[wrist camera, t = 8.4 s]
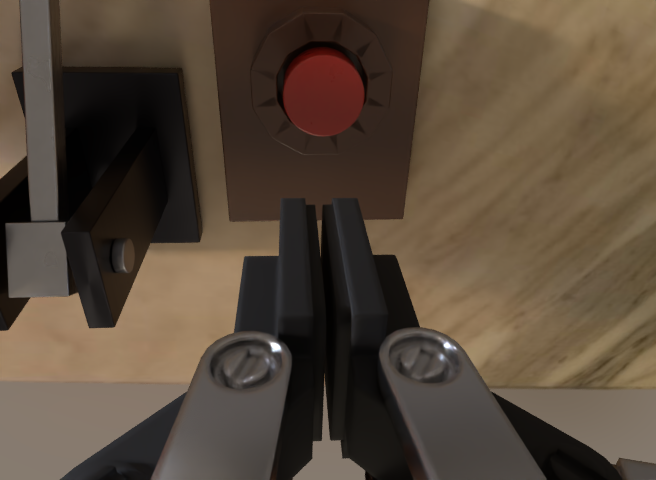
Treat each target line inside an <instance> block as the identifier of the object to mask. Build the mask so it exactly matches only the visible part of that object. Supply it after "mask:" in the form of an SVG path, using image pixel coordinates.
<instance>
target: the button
mask: <svg viewBox="0 0 656 480" xmlns="http://www.w3.org/2000/svg"><path fill="white" fill-rule="evenodd" d="M364 98H365V92H364V86H363V82H362V80H361V77H360V75H359V73H358V71H357V69H356V67H355V65H354V64H353V62H352V61H351V60H350V59H349V58H348V57H347V56H346V55H345V54H343V53H342V52H340V51H338V50H335V49H333V48H328V47H316V48H311V49H308V50H306V51H304V52H302V53H301V54H299V55H298V56H297V57H296V58H294V60H293V61H292V62H291V63H290V65H289V66H288V68H287V70H286V72H285V75H284V80H283V104H284V108H285V111H286V113H287V115H288V117H289V119H290V120H291V121H292V123H293V124H294V125H295V126H296V127H298V128H299V129H300V130H302V131H303V132H306V133H308V134H311V135H314V136H322V137H324V136H332V135H336V134H338V133H341V132H343V131H344V130H346V129H347V128H349V127H350V126H351V125H352V124H353V123H354V122H355V121H356V119H357V118H358V116H359V115H360V113H361V110H362V108H363V104H364Z"/></svg>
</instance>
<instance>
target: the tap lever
mask: <svg viewBox="0 0 656 480" xmlns="http://www.w3.org/2000/svg"><path fill="white" fill-rule="evenodd" d="M19 3H20V23H21V43H22V64H23V84H24V104H25V124H26V144H27V165H28V185H29V205H30V220H31V222H15V223H5V240H6V259H7V278H8V297H9V298H25V297H65V296H70V295H73V294H76V293H78V290H77V286H76V283H75V280H74V276H73V273H72V270H71V266H70V263H69V260H68V256H67V253H66V250H65V246H64V243H63V240H62V236H61V231H62V230H63V228H64V227H65V226H66V224H67V223H68V220H69V206H68V184H67V161H66V139H65V116H64V94H63V72H62V49H61V27H60V5H59V0H19Z"/></svg>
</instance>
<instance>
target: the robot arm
mask: <svg viewBox="0 0 656 480" xmlns="http://www.w3.org/2000/svg"><path fill="white" fill-rule="evenodd" d="M324 373H325V385H326V397H327V409H328V420H329V432H330V440H341V448H342V458H350V459H351V460H352V461H354V462H355V463H357V464H358V465H359V466H360V467H362V468H363V469H364V470H365V478H366V480H656V464H654V463H648V462H642V461H635V460H629V459H623V458H619V459H618V461H617V463H616V465H614V464H610V462H608V460H607V459H606V458H604V457H603V456H602V455H600V454H599V453H597V452H596V451H594V450H593V449H592V448H590V447H589V446H587V445H585V444H583V443H582V442H580V441H578V440H576V439H574V438H573V437H571V436H569V435H567V434H566V433H564V432H562V431H560V430H559V429H557V428H555V427H553V426H551V425H550V424H548V423H546V422H544V421H543V420H541V419H539V418H537V417H535V416H534V415H532V414H530V413H528V412H527V411H525V410H523V409H521V408H520V407H518V406H516V405H514V404H512V403H510V402H509V401H507V400H505V399H504V398H502V397H500V396H498V395H496V394H495V393H493V392H491V391H490V390H489V388H488V386H487V385H486V383H485V382H484V380H483V379H482V377H481V376H480V374H479V372H478V371H477V369H476V368H475V366H474V365H473V363H472V361H471V360H470V358H469V357H468V355H467V354H466V352H465V351H464V349H463V348H462V347H461V346H460V345H459V344H458V343H457V342H456V341H455V340H453V339H452V338H450V337H449V336H447V335H446V334H443V333H441V332H438V331H436V330H432V329H427V328H422V327H420V326H419V323H418V320H417V317H416V314H415V311H414V308H413V305H412V302H411V299H410V296H409V293H408V290H407V287H406V284H405V281H404V278H403V275H402V272H401V269H400V267H399V264H398V261H397V258H396V256H395V255H373V254H372V251H371V247H370V243H369V239H368V236H367V232H366V228H365V224H364V221H363V217H362V213H361V209H360V206H359V202H358V199H357V198H332V203H331V205H323V206H322V233H321V257H320V247H319V237H318V228H317V218H316V208H315V205H306V201H305V198H280V235H279V256H245V257H244V262H243V269H242V277H241V284H240V292H239V299H238V307H237V314H236V321H235V329H234V333H233V334H229V335H227V336H224V337H222V338H220V339H218V340H216V341H215V342H214V343H213V344H212V345H210V346H209V347H208V348H207V349H206V351H205V353H204V354H203V356H202V357H201V359H200V362H199V364H198V367H197V369H196V371H195V374H194V376H193V379H192V381H191V383H190V386H189V388H188V391H187V392H186V393H184V394H183V395H181V396H180V397H178V398H177V399H175V400H174V401H172V402H171V403H169V404H168V405H166V406H165V407H163V408H162V409H161V410H159V411H157V412H156V413H155V414H153V415H152V416H150V417H149V418H147V419H146V420H144V421H143V422H141V423H140V424H138V425H137V426H135V427H134V428H132V429H131V430H129V431H128V432H126V433H125V434H124V435H122V436H121V437H119V438H118V439H116V440H115V441H113V442H112V443H110V444H109V445H107V446H106V447H104V448H103V449H102V450H100V451H99V452H97V453H95V454H94V455H93V456H91V457H90V458H88V459H87V460H85V461H84V462H82V463H81V464H79V465H78V466H76V467H75V468H73V469H72V470H71V471H70V472H69V473H68V474H66V475H65V476H64V477H63V478H62V479H60V480H292V479H293V477H294V476H295V475H296V474H297V473H298V472H299V471H300V470H301V469H302V468H303V467H304V466H305V465H306V464H307V463H308V462H309V461H310V460H311V459H312V445H313V444H312V443H313V441H321V440H322V420H323V396H324Z"/></svg>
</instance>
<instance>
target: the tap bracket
mask: <svg viewBox="0 0 656 480" xmlns="http://www.w3.org/2000/svg"><path fill="white" fill-rule="evenodd" d="M62 72H63V94H64V116H65V139H66V161H67V184H68V206H69V220H68V223H67V224H66V226H65V227H64V228H63V230H62V231H61V236H62V240H63V243H64V246H65V250H66V253H67V256H68V260H69V263H70V266H71V270H72V273H73V276H74V280H75V283H76V286H77V290H78V293H79V296H80V299H81V303H82V306H83V309H84V313H85V316H86V319H87V323H88V326H89V328H111V327H115V325H116V323H117V321H118V318H119V316H120V314H121V311H122V309H123V306H124V304H125V302H126V299H127V297H128V295H129V292H130V290H131V288H132V285H133V283H134V280H135V278H136V276H137V273H138V271H139V269H140V266H141V264H142V262H143V259H144V257H145V254H146V252H147V250H148V247H149V245H150V243H191V242H200V240H201V236H202V224H201V216H200V208H199V200H198V192H197V184H196V176H195V168H194V160H193V152H192V144H191V136H190V128H189V120H188V112H187V104H186V96H185V88H184V80H183V73H182V69H181V68H145V67H62ZM12 77H13V80H14V84H15V87H16V90H17V93H18V97H19V100H20V103H21V107H22V110H23V113H24V117H25V104H24V84H23V67H20V68H18V69H16V70H15V71H13V72H12ZM15 222H31V220H30V205H29V185H28V165H27V156H26V157H25V158H24V159H22V160H21V161H20V162H19V163H18V164H17V165H16V166H15V167H13V168H12V169H11V170H10V171H9V172H8V173H7V174H6V175H4V176H3V177H2V178H1V179H0V331H4V330H9V328H10V327H11V325H12V324H13V323H14V321H15V320H16V318H17V317H18V315H19V314H20V312H21V311H22V309H23V308H24V306H25V305H26V303H27V302H28V301H29V299H30V298H31V297H25V298H9V297H8V278H7V259H6V240H5V223H15Z"/></svg>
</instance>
